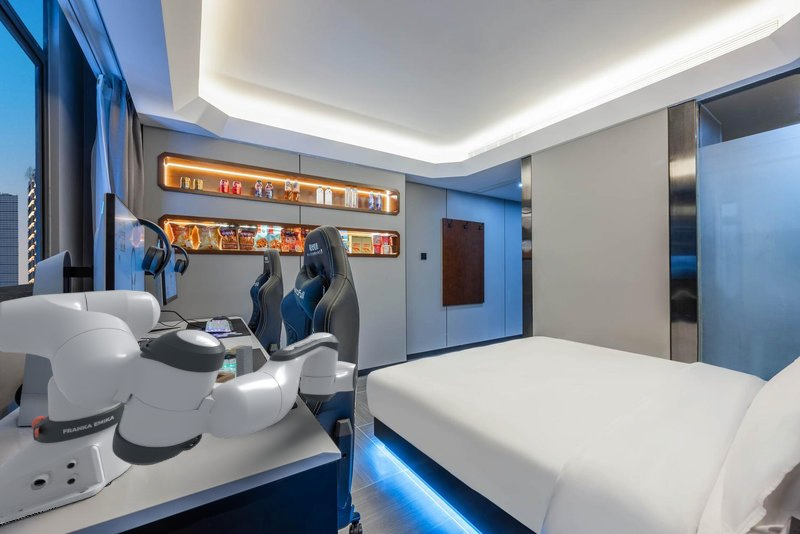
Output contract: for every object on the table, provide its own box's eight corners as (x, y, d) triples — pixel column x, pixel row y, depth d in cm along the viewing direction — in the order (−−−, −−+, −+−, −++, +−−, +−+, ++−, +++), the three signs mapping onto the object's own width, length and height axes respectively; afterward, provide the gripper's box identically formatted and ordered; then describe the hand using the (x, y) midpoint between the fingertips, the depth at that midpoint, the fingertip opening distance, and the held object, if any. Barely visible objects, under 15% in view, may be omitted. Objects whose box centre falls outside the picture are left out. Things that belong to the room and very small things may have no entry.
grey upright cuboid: (253, 396, 106) (252, 346, 105) (244, 401, 102) (243, 349, 101) (240, 395, 107) (239, 345, 107) (231, 400, 103) (230, 348, 103)
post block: (240, 389, 112) (240, 372, 112) (213, 404, 100) (212, 385, 100) (213, 386, 115) (212, 370, 114) (182, 401, 103) (182, 382, 103)
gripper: (289, 397, 88) (247, 393, 92) (324, 372, 108) (288, 370, 112) (289, 375, 88) (247, 372, 92) (324, 354, 108) (288, 352, 111)
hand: (270, 370), depth 102 cm, fingers open, 8 cm apart
